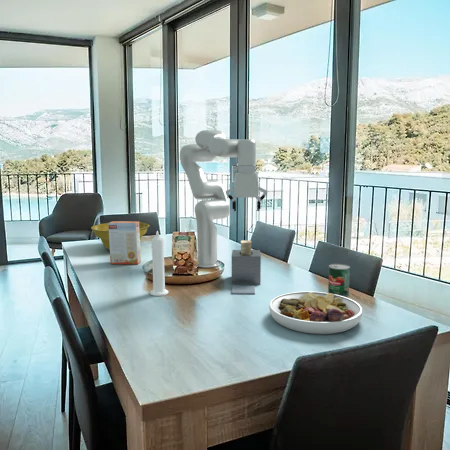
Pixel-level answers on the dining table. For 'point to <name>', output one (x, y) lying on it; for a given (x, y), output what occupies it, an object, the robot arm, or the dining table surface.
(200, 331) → the dining table surface
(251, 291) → the mat
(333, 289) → the canned tomato
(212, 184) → the robot arm
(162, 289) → the candle
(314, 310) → the bowl
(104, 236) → the planter bowl
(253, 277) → the post block
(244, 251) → the peg
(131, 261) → the cracker box
